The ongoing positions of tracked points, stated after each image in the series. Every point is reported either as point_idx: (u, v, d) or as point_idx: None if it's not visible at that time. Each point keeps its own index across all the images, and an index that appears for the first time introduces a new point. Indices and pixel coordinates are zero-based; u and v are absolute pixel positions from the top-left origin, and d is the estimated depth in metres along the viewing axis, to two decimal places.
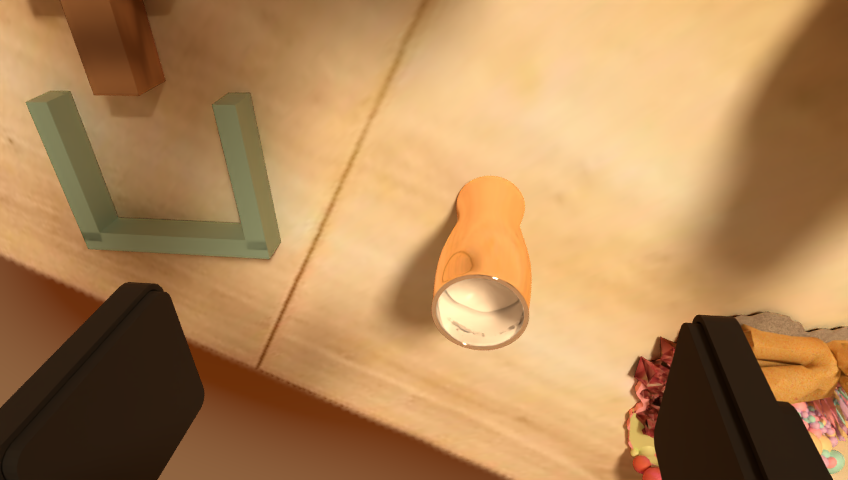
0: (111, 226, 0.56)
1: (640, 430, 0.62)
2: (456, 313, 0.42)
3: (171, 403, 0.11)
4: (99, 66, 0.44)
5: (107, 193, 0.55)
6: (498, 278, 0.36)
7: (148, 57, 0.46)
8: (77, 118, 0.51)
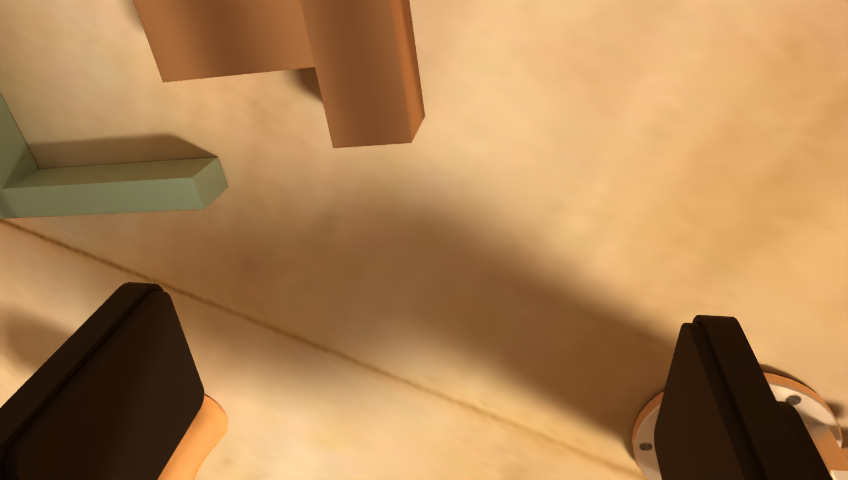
0: None
1: None
2: None
3: (171, 403, 0.11)
4: (186, 21, 0.26)
5: None
6: None
7: None
8: None
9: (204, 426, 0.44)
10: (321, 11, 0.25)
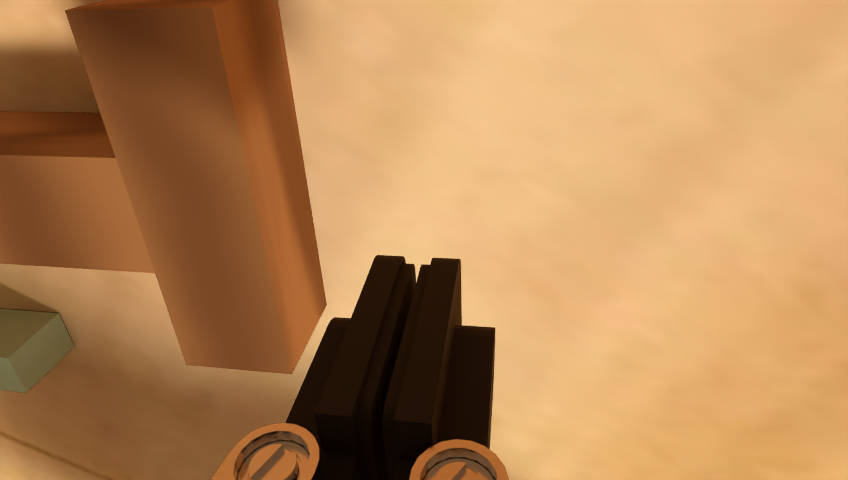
0: None
1: None
2: None
3: None
4: None
5: None
6: None
7: None
8: None
9: None
10: (159, 210, 0.17)
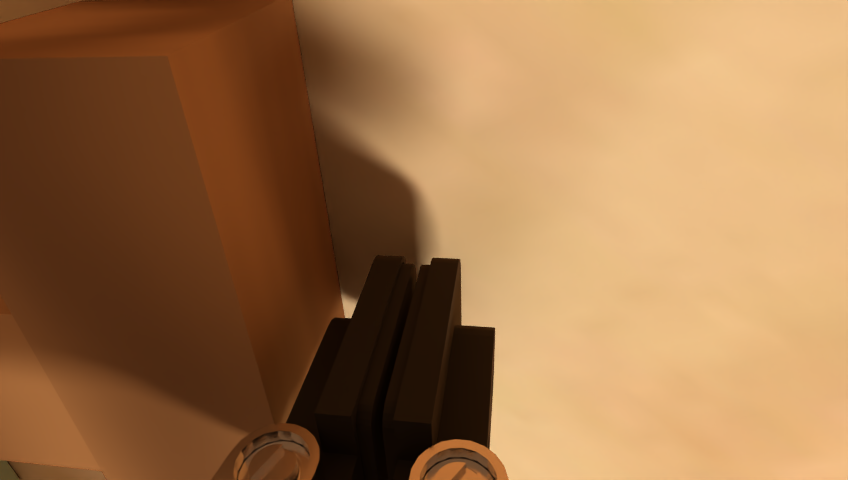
0: None
1: None
2: None
3: None
4: None
5: None
6: None
7: None
8: None
9: None
10: (98, 391, 0.10)
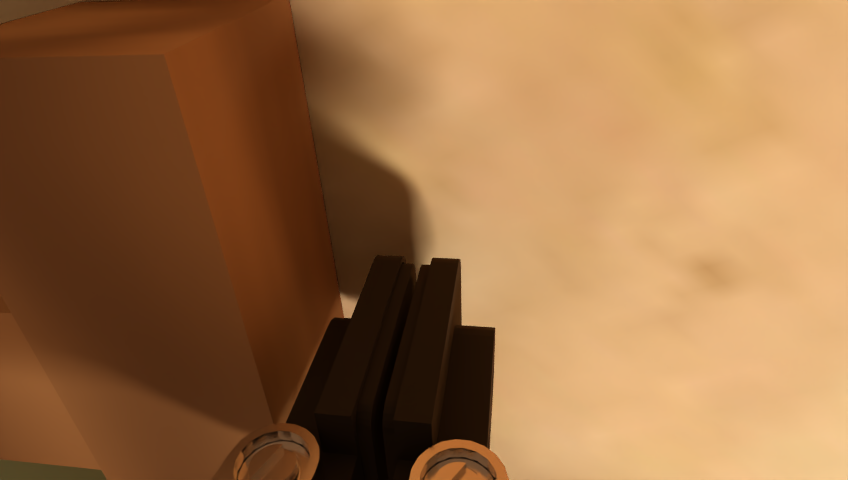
0: None
1: None
2: None
3: None
4: None
5: None
6: None
7: None
8: None
9: None
10: (97, 390, 0.10)
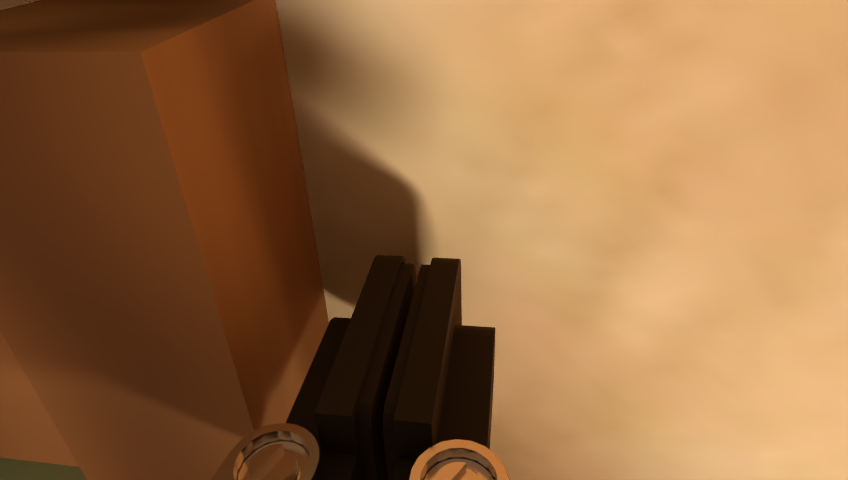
0: None
1: None
2: None
3: None
4: None
5: None
6: None
7: None
8: None
9: None
10: (75, 387, 0.10)
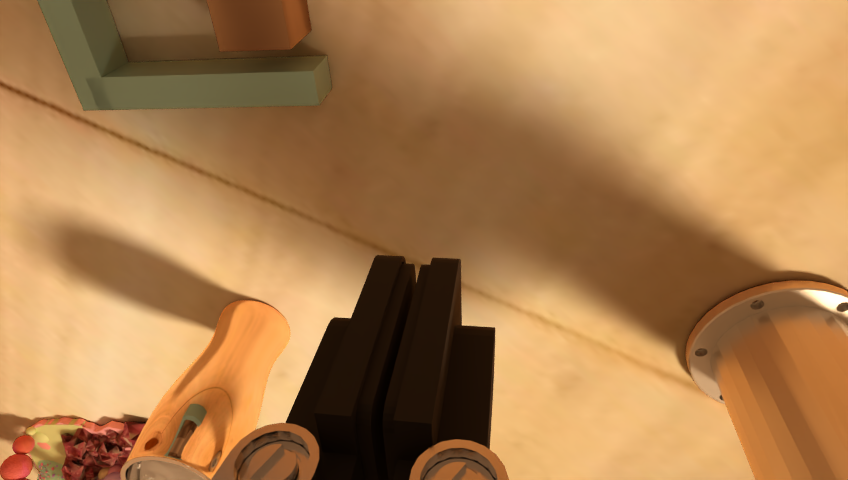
0: None
1: (63, 431, 0.59)
2: None
3: None
4: None
5: None
6: None
7: None
8: None
9: (273, 335, 0.45)
10: None
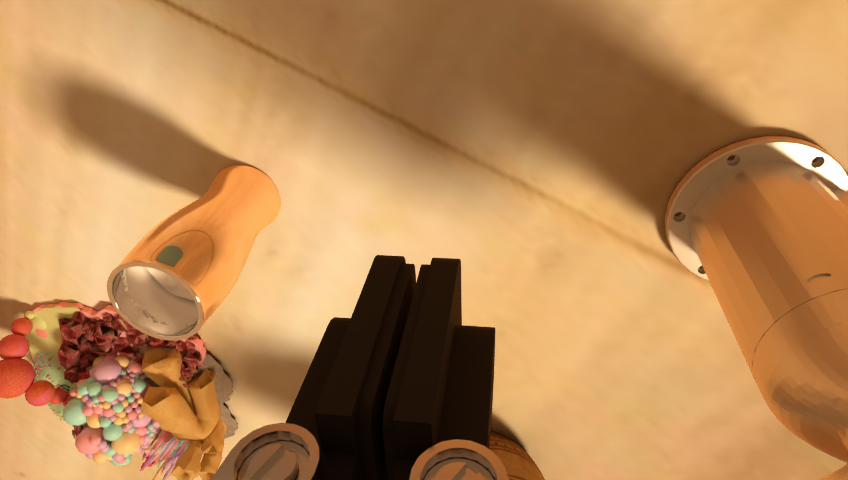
0: None
1: (61, 315, 0.60)
2: None
3: None
4: None
5: None
6: (202, 319, 0.37)
7: None
8: None
9: (263, 197, 0.47)
10: None
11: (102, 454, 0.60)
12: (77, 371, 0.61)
